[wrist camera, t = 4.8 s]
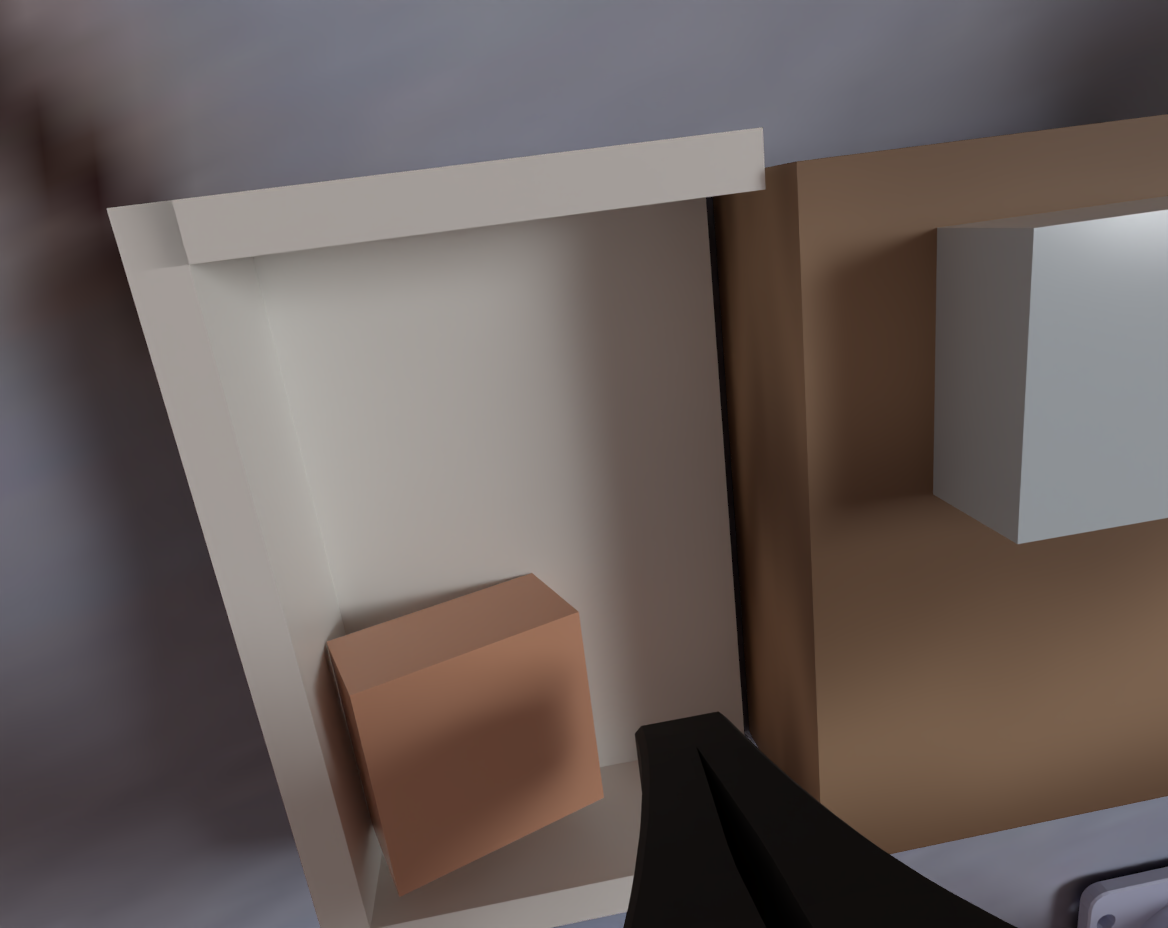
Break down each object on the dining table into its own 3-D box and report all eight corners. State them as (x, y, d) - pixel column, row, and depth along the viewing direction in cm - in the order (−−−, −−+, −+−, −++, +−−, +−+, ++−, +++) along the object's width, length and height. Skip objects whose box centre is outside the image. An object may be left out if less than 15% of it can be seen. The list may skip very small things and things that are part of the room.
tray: (738, 752, 18) (799, 875, 15) (362, 825, 17) (334, 973, 14) (693, 151, 14) (762, 127, 11) (202, 212, 13) (107, 208, 10)
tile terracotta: (399, 897, 13) (371, 824, 15) (603, 797, 15) (558, 742, 17) (349, 695, 12) (325, 642, 14) (578, 612, 14) (532, 572, 15)
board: (1073, 669, 19) (1227, 783, 15) (749, 731, 18) (822, 868, 14) (1117, 126, 15) (1336, 92, 11) (711, 178, 14) (797, 161, 10)
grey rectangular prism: (1168, 454, 12) (1293, 495, 11) (932, 494, 12) (1018, 544, 10) (1198, 191, 11) (1345, 184, 9) (937, 227, 11) (1034, 227, 9)
